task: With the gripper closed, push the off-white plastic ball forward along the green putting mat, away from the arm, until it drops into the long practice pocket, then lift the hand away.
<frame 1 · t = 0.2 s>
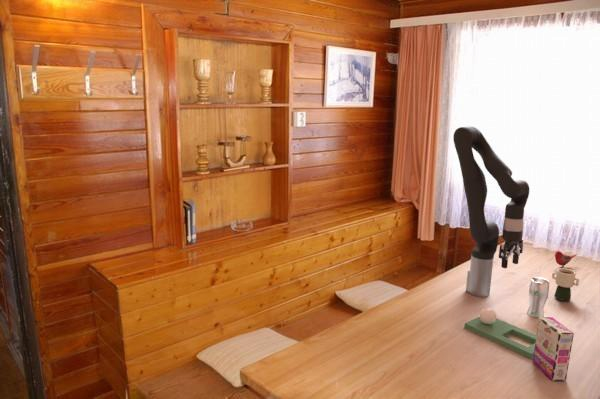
hand: (509, 265, 196), 17 cm above the table, tool pointing down, fingers open, 8 cm apart
ball: (487, 316, 177), point 5 cm above the table, touching putting mat
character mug: (562, 299, 206), on the table
beer glass: (535, 315, 190), on the table
candy bar box: (548, 371, 151), on the table
decorative bird figurine: (563, 268, 244), on the table
putting mat: (506, 337, 172), on the table
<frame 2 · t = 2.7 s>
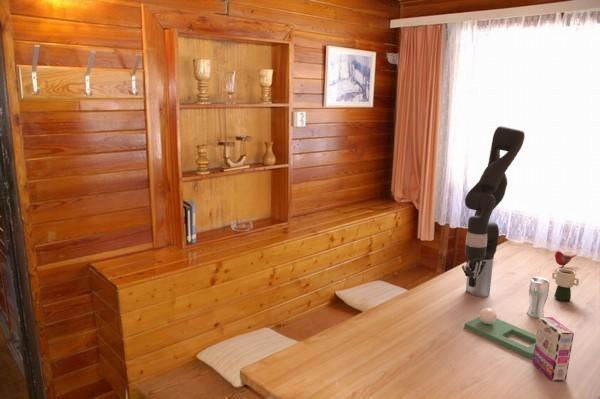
hand: (472, 286, 182), 14 cm above the table, tool pointing down, fingers closed
nothing on the table moved.
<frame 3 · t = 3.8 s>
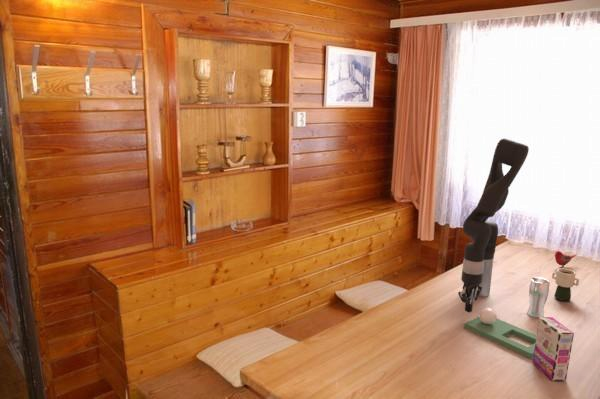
hand: (468, 311, 184), 4 cm above the table, tool pointing down, fingers closed
nothing on the table moved.
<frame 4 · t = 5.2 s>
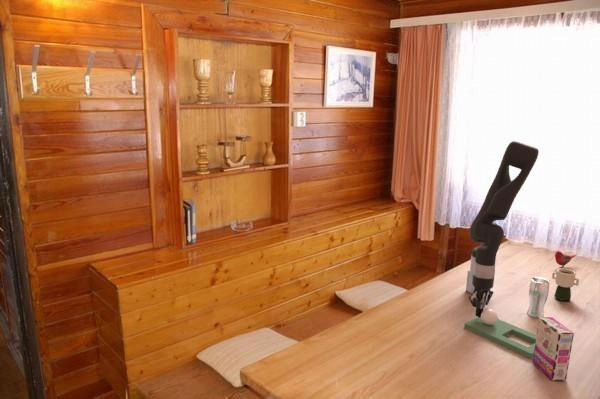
hand: (478, 316, 180), 4 cm above the table, tool pointing down, fingers closed
ball: (489, 316, 177), point 5 cm above the table, tilted 10°, touching gripper, putting mat
everything else where it was.
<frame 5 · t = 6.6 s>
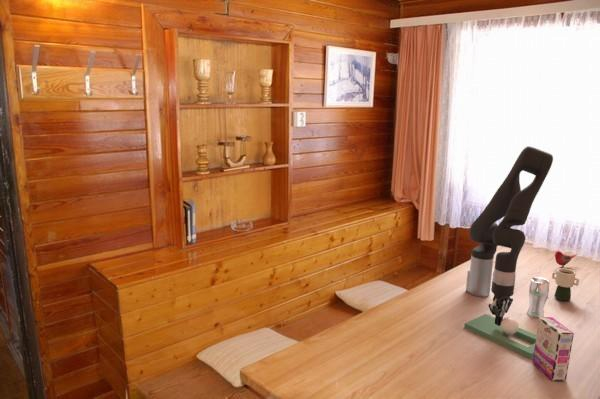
hand: (498, 324, 174), 4 cm above the table, tool pointing down, fingers closed
ball: (509, 325, 170), point 5 cm above the table, tilted 141°, touching putting mat
everything else where it was.
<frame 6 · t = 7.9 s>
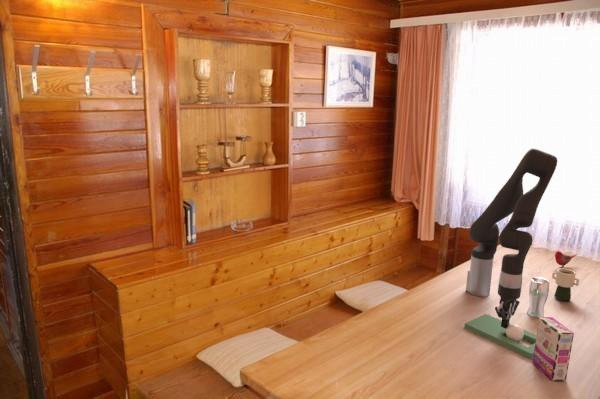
hand: (504, 327, 172), 4 cm above the table, tool pointing down, fingers closed
ball: (514, 332, 169), point 3 cm above the table, tilted 158°, touching gripper
everything else where it was.
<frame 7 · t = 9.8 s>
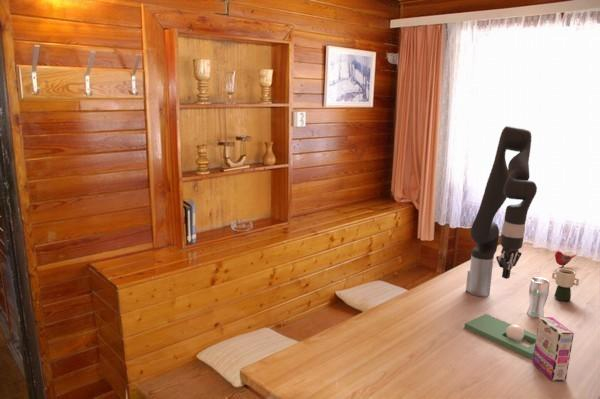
hand: (505, 277, 174), 21 cm above the table, tool pointing down, fingers closed
ball: (515, 333, 169), point 3 cm above the table, tilted 155°
everything else where it was.
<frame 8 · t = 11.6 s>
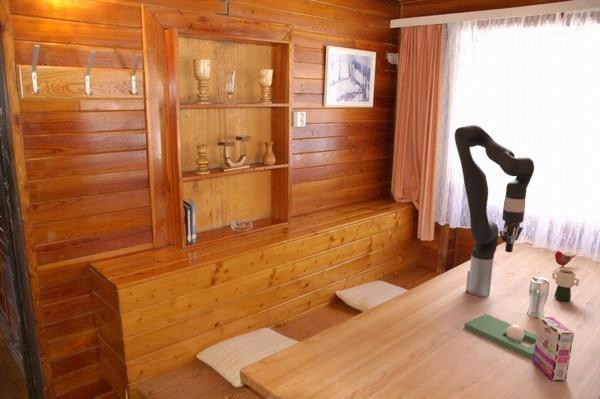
hand: (508, 251, 184), 27 cm above the table, tool pointing down, fingers closed
nothing on the table moved.
at the end: ball 1.7 cm from the target spot on the putting mat, point 3.0 cm above the putting mat's base; ball point 3.0 cm above the table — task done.
